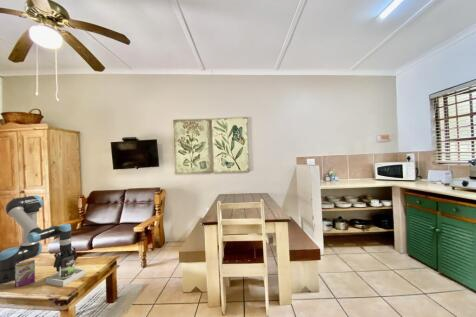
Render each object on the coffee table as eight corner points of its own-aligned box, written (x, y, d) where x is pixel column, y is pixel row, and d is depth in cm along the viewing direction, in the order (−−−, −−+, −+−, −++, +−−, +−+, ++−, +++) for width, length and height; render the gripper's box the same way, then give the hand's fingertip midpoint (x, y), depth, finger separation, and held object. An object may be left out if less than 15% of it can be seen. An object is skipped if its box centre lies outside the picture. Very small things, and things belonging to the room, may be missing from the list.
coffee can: (77, 272, 184) (77, 255, 183) (65, 279, 173) (65, 260, 173) (67, 271, 186) (66, 254, 186) (54, 278, 176) (54, 259, 175)
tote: (46, 283, 173) (45, 278, 173) (69, 271, 191) (69, 267, 191) (63, 286, 168) (63, 281, 168) (85, 274, 186) (85, 269, 186)
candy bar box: (15, 287, 168) (14, 265, 168) (15, 285, 172) (14, 263, 172) (35, 282, 176) (34, 261, 176) (35, 279, 180) (34, 259, 180)
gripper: (53, 249, 168) (54, 279, 168) (82, 239, 189) (83, 265, 189) (46, 249, 170) (47, 278, 170) (75, 238, 191) (76, 264, 191)
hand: (66, 271), depth 180 cm, fingers closed on coffee can, 10 cm apart
